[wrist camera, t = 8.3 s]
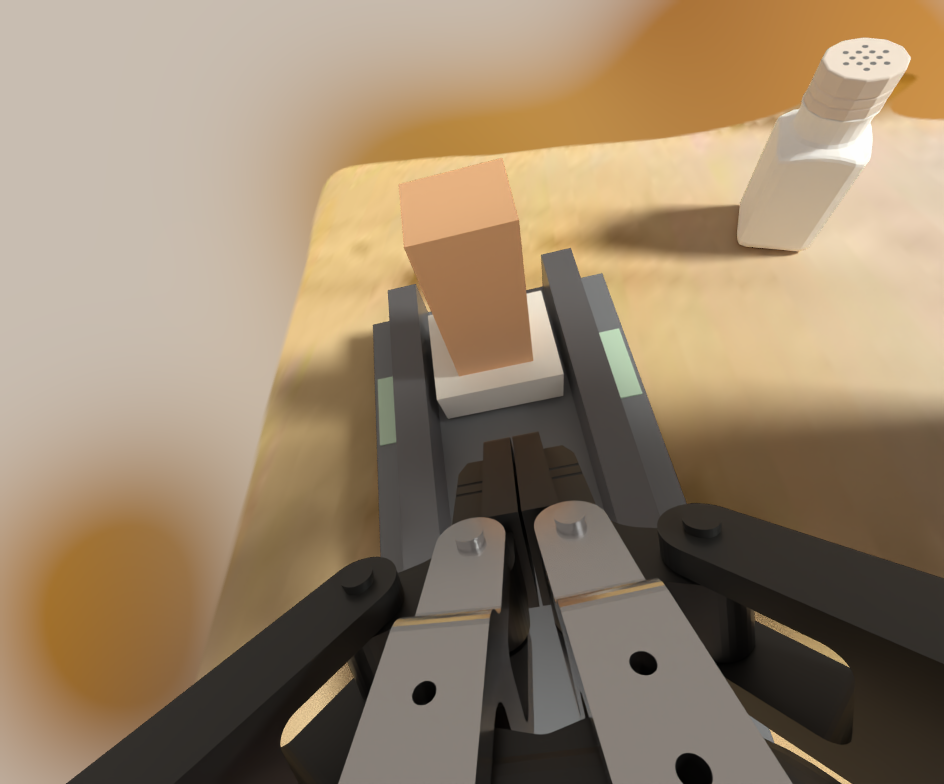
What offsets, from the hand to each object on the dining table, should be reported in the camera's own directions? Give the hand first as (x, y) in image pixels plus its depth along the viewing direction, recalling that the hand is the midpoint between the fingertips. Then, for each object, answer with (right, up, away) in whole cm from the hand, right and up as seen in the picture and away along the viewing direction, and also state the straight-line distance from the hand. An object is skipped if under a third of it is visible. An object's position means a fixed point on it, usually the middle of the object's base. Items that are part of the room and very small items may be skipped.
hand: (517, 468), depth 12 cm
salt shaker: (+17, +12, +15) cm, 26 cm away
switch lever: (0, +3, +12) cm, 12 cm away
